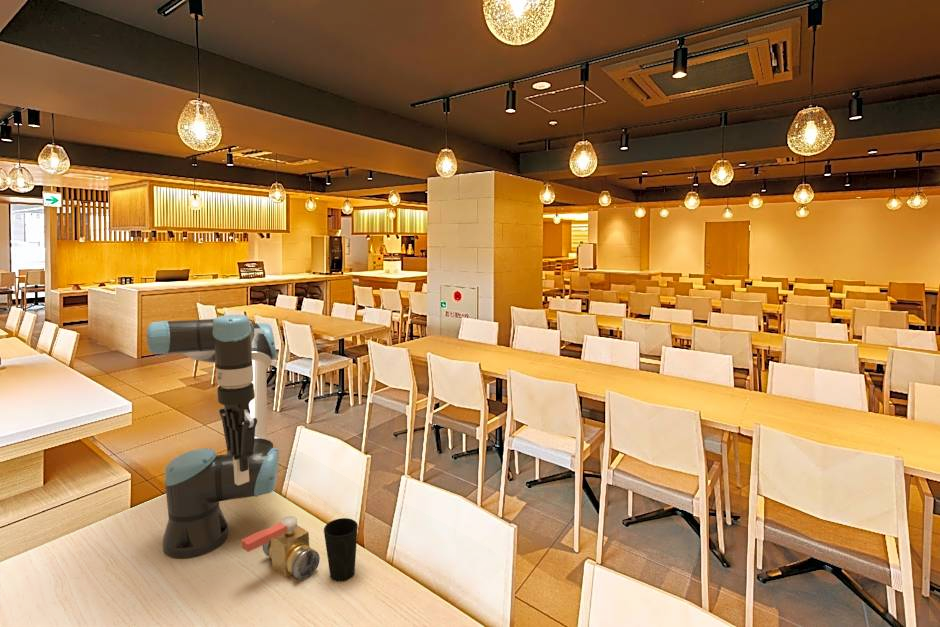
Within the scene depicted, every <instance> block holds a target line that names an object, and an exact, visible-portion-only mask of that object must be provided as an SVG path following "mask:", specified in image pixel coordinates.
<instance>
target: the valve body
mask: <svg viewBox="0 0 940 627" xmlns="http://www.w3.org/2000/svg"><path fill="white" fill-rule="evenodd" d="M309 535H310V534H309V531H308V530H306V529H304V528H303V527H301V526H299V525H298V524H297V528H296V529H295V530H293V531H290V532H286V533H284V534H282V535H280V536H278V537H276V538H274V539H272V540H270V541H269V542H268V543H266V544H264V545H262V552H263V553H264V554H265V555H266V556H267V557H269V558H270V559H271V564H272V568H273V569H275V570H276V571H277V572H278V573H280V574H281V575H282V576H283V577H285V578H288V577H290V576H291V575H293V576H294V577H295V579H296V578H297V579H298V580H301V581H303V580H306V579H309V578H310V577H312V575H314V573H315V572H316V570H317V568H318V567H319V564H320V559H321V558H320V554H319V551H317V550H315V549H314V548H312V547H310V536H309Z"/></svg>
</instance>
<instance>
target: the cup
mask: <svg viewBox="0 0 940 627" xmlns="http://www.w3.org/2000/svg"><path fill="white" fill-rule="evenodd" d="M358 529H359V526H358V522H356V521H355V520H354V519H352V518H347V517H344V518H343V517H342V518H336V519H333V520H331V521H329V522H328V523H326V525H325V526H324V528H323V534H324V541H325V548H326V556H327V562H328V569H329V575H330V576H329V577H330V579H331V580H332V581H334V582H338V583H343V582H346V581H348V580H350V579H352V578H353V577H354V576H355V571H356V570H355V569H356V559H357V558H356V556H357V555H356V554H357V543H358V540H357V539H358Z"/></svg>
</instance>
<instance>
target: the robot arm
mask: <svg viewBox="0 0 940 627" xmlns="http://www.w3.org/2000/svg"><path fill="white" fill-rule="evenodd" d="M147 326H148V327H146V328H147V330H146V344H147V349H148V351H149V352H150V353H151V354H153V355H168V354H169V355H171V354H181V355H185V356H186V357H187V358H189V359H192V360H194V361H201V362H205V363H206V362H207V363H212V364H213V363H215V371H216V373H214V377H215V378H216V384H217V385H218V387H217V402H218V403H219V404H220V405H222V406H224V407H223V408H220V409H219V416H220V418H221V422H222V427H223V433H224V434H223V435H224V438H225V444H226V449H227V450H226V453H225V454H217V452H216V451H215V450H214V449H213V448H206V447H205V448H198V449H193V450H190V451H187V452H184V453H181V454H179V455H178V456H175V457H174V458H173V459H171V460H170V461H169V462H168V464H166V466H165V469H164V485H165V494H166V502H167V503H166V506H167V512H168V513H167V514H168V520H167V523H166V527H165V530H164V534H163V537H162V550H163V552H164V554H165V555H167V556H168V557H170V558H176V559H187V558H193V557H198V556H202V555H205V554H207V553H210V552H211V551H213V550H216V549H217V548H219V547H220V546H221V545H222V544H224V543H225V541H226V540H227V539H228V537H229V534H230V533H229V532H230V531H229V529H230V528H229V523H228V522H227V519H226V518H225V517H226V516H224V513H223V511H222V510H221V507H220V506H221V505H220V502H225V501H226V502H227V501H232V500H239V499H245V498H251V497H259V496H263V495H268V494H270V493H272V492H274V490H275V489H276V487H277V482H278V474H279V467H280V466H279V463H280V462H279V461H280V450H279V448H278V447H274V442H273V441H272V440H271V439H269V438H268V400H267V399H268V398H267V396H268V395H267V394H268V393H267V392H268V391H267V369H269V368H270V367H271V365H272V361H274V360H275V359H277V350H276V343H275V337H274V332H273V328H272V326H271V325H270V324H269V323H265V322H263V323H258V322H255V323H253V322H252V321H251V320H250V317H249V316H248V315H245V314H224V315H220V316H216V317H214V318H209V319H207V318H205V319H198V320H197V319H189V320H188V319H187V320H161V321H154V322H153V321H152V322H151V323H149V325H147Z"/></svg>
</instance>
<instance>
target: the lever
mask: <svg viewBox="0 0 940 627" xmlns="http://www.w3.org/2000/svg"><path fill="white" fill-rule="evenodd" d="M297 525H298V518H297V517H296V516H293V515H292V516H286V517H283V518H282V519H281V521H280V522H279V523H276V524H273V525H272V526H270V527H268V528H265V529H261V530H259V531H257V532H255V533H253V534H251V535H248V536H246V537H244V538H242V539H241V540H240V541H241V543H240V544H241V548H242V549H243V550H244V551H246V552H247V553H249V552H251V551H253V550H255V549H257V548H260V547H261V546H263V545H264V544H266V543H268V542H269V541H270V540H272V539H274V538H276V537H278V536H280V535H282V534H284V533H286V532H290V531H293V530H295V529H296V528H297Z"/></svg>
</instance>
